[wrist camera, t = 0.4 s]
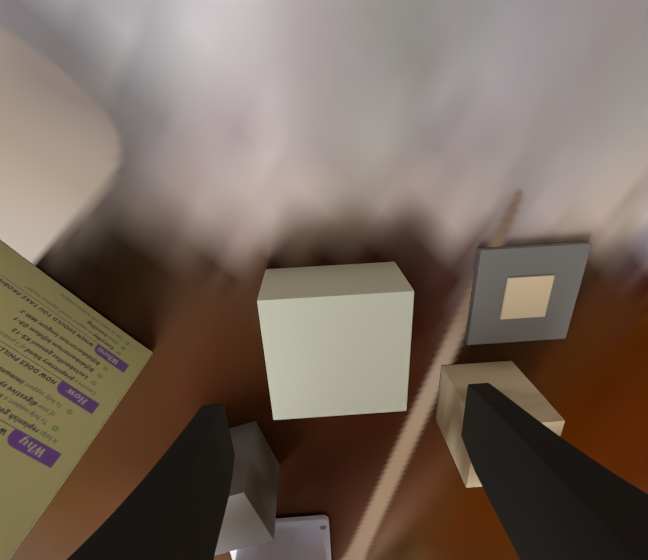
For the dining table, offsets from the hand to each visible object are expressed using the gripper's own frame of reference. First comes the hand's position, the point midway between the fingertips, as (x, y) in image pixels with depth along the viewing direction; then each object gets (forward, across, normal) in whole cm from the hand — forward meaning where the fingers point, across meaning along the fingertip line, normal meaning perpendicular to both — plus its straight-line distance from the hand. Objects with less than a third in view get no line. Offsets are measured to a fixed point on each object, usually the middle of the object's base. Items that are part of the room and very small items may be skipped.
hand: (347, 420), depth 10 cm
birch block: (+10, -9, +8) cm, 16 cm away
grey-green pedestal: (+10, 0, +2) cm, 10 cm away
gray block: (+10, +7, +12) cm, 17 cm away
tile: (+10, -11, +2) cm, 15 cm away
